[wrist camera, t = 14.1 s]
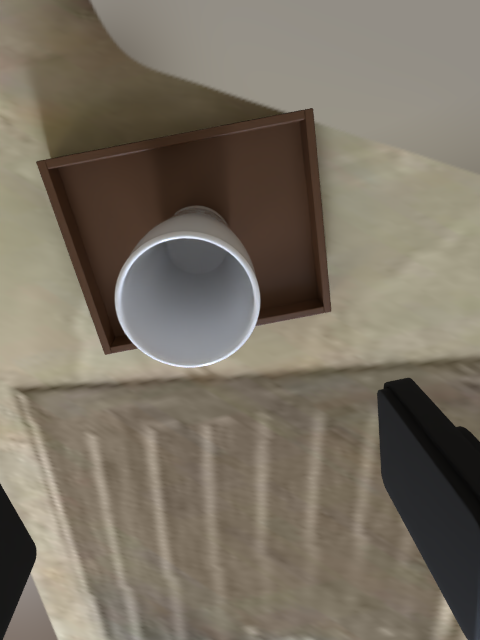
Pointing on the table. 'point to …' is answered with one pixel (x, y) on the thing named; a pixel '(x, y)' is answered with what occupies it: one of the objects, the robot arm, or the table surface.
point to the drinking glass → (188, 290)
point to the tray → (202, 190)
